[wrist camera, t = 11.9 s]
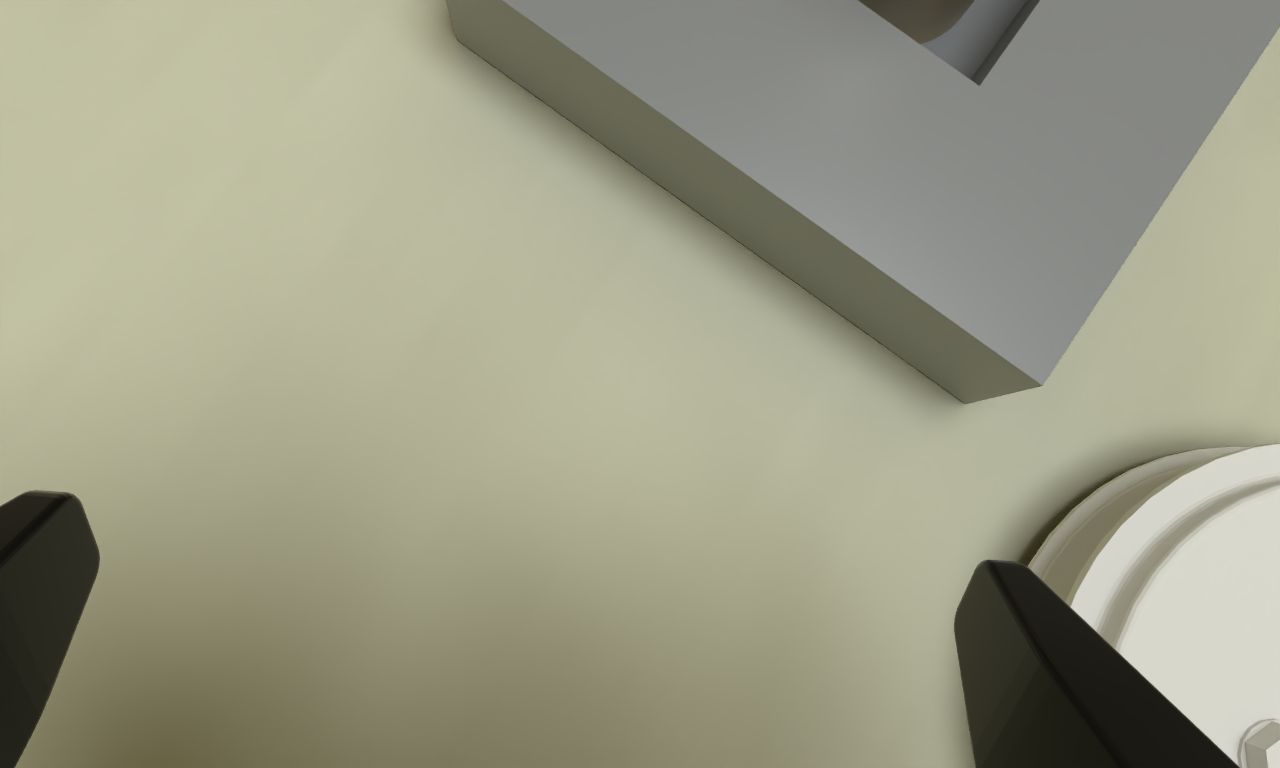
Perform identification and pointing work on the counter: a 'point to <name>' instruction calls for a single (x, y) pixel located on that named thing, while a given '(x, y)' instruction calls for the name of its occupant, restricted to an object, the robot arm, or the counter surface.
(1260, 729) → the lid
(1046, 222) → the socket block
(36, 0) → the counter surface
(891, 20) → the plug
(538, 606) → the counter surface
